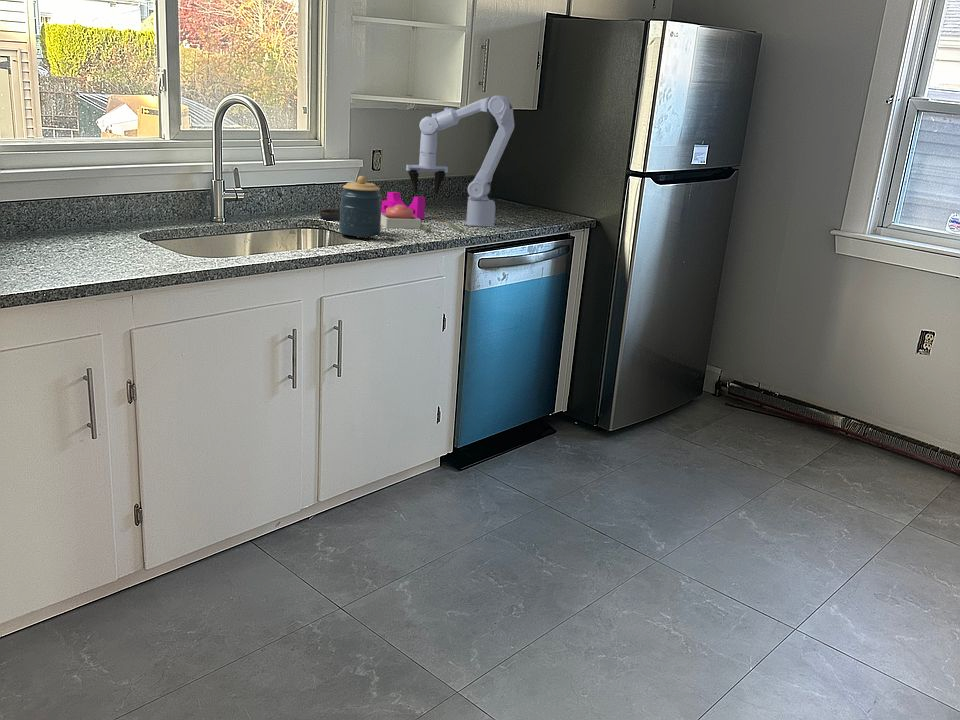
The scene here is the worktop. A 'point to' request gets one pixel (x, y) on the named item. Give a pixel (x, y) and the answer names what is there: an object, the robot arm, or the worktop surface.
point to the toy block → (395, 199)
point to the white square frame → (400, 222)
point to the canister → (360, 209)
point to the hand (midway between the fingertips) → (425, 192)
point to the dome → (399, 212)
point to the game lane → (444, 223)
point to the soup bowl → (330, 214)
